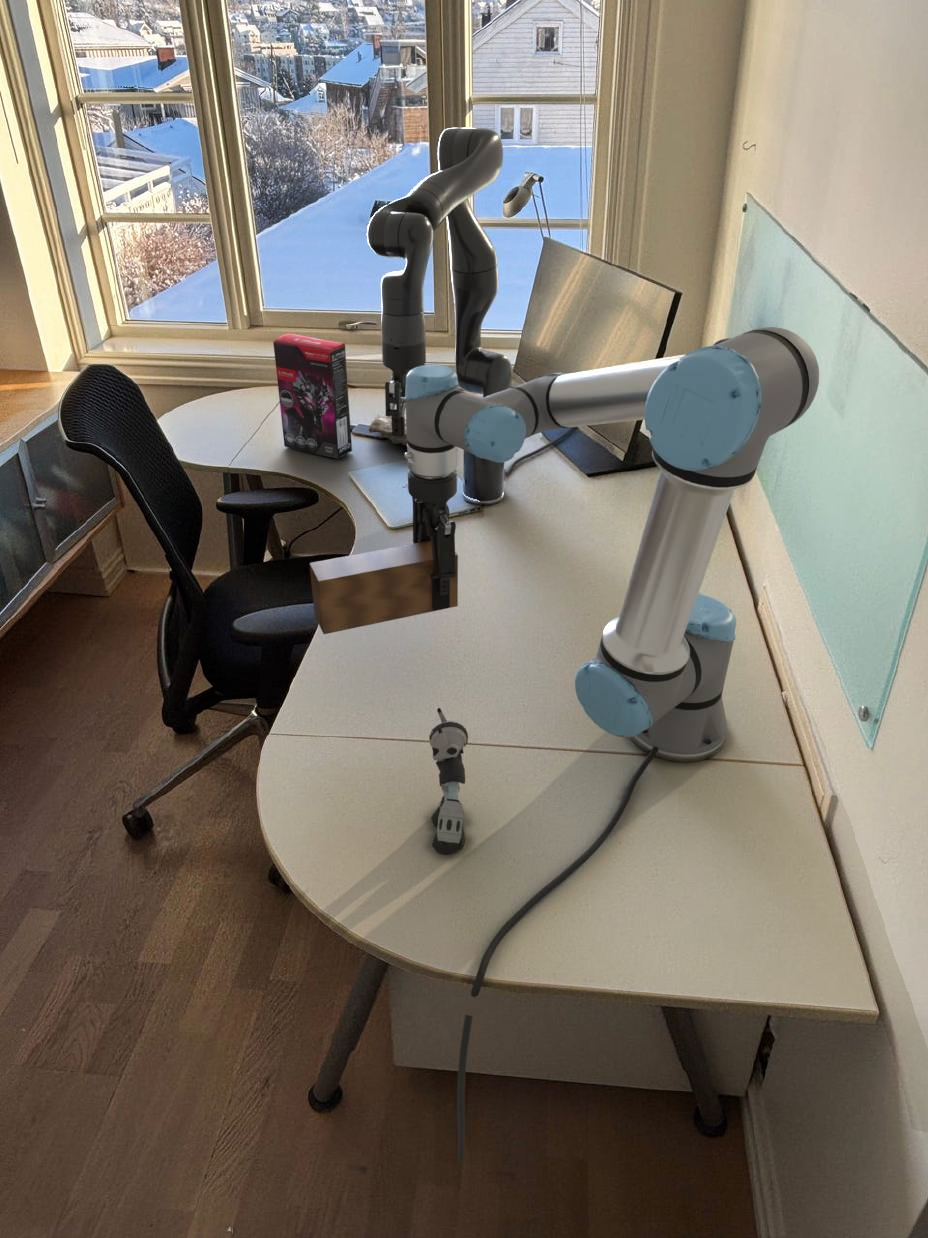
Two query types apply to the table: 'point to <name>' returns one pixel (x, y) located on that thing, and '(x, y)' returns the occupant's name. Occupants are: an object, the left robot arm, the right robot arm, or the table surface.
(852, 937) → the table surface
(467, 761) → the table surface
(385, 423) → the stone
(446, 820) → the robot
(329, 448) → the graphics card box
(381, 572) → the box
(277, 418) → the table surface
